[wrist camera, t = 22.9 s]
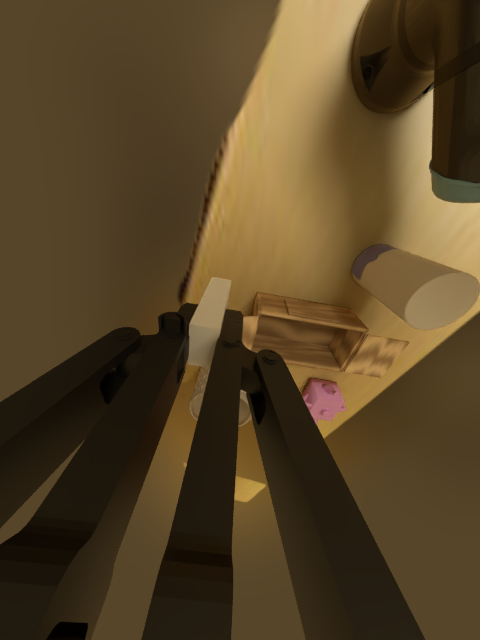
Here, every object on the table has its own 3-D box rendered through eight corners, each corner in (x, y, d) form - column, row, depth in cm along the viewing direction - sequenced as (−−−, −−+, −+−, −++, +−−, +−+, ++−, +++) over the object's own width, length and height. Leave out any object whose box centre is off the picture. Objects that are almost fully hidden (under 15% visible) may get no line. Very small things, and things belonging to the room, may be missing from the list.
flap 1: (257, 315, 44) (214, 317, 40) (258, 316, 44) (214, 319, 40) (247, 355, 50) (209, 360, 46) (248, 356, 50) (209, 361, 46)
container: (366, 292, 51) (423, 340, 34) (342, 268, 48) (392, 307, 31) (404, 263, 47) (492, 301, 30) (381, 234, 44) (464, 258, 27)
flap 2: (368, 335, 45) (409, 342, 45) (367, 334, 45) (407, 341, 46) (344, 372, 51) (380, 377, 52) (343, 370, 52) (379, 376, 52)
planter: (200, 389, 75) (191, 426, 63) (198, 352, 65) (186, 388, 53) (249, 393, 75) (249, 431, 63) (255, 356, 65) (256, 394, 53)
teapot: (341, 393, 72) (355, 421, 63) (306, 403, 76) (314, 431, 67) (328, 366, 66) (341, 394, 56) (290, 379, 70) (296, 407, 60)
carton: (257, 289, 52) (258, 307, 44) (351, 306, 53) (370, 327, 45) (246, 336, 60) (245, 358, 52) (328, 349, 62) (340, 374, 53)
